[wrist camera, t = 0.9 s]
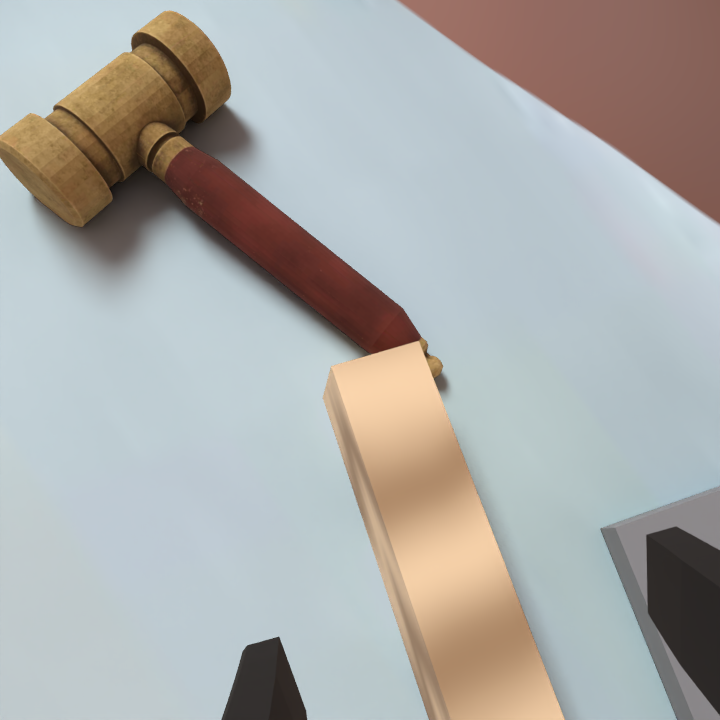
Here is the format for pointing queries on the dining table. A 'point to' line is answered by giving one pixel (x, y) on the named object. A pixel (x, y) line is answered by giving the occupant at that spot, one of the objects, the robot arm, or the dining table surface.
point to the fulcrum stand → (628, 550)
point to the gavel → (187, 173)
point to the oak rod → (434, 543)
